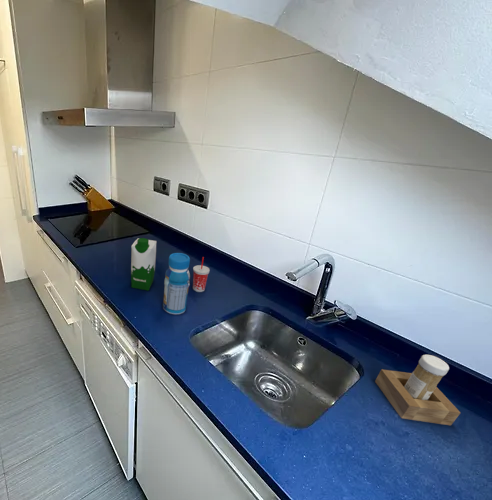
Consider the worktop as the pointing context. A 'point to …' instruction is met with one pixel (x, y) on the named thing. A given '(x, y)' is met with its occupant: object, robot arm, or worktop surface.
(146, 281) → the milk carton
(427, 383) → the sprinkles bottle
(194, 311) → the worktop surface
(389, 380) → the frame
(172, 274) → the beverage bottle
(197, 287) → the beverage cup
